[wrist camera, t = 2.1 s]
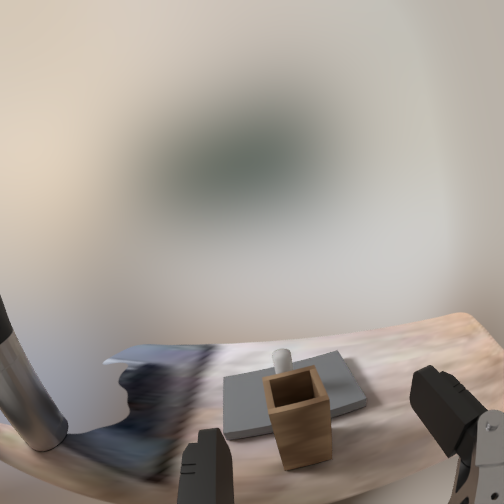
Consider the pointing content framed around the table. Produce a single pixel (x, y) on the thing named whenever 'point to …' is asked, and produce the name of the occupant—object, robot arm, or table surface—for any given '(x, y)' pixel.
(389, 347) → the table surface
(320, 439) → the sleeve
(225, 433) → the plate
